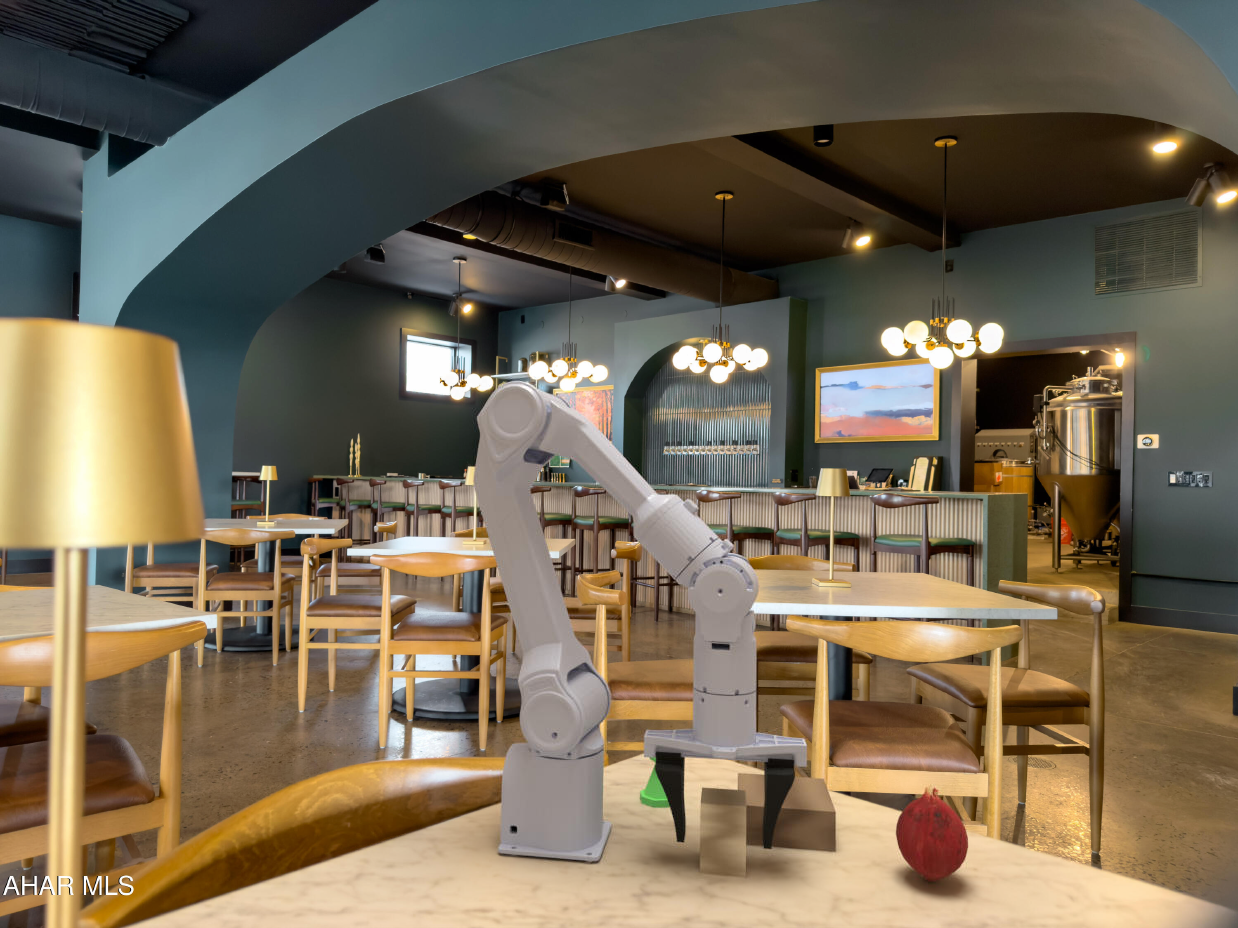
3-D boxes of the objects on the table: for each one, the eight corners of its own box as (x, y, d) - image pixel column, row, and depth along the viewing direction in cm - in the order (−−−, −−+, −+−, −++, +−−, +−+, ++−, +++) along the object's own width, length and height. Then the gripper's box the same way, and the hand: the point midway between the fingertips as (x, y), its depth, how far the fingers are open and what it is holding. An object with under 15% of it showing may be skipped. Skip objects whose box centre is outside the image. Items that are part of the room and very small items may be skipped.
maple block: (699, 873, 67) (700, 803, 67) (701, 853, 71) (702, 787, 71) (745, 877, 66) (746, 806, 67) (744, 856, 70) (745, 790, 71)
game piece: (634, 805, 82) (635, 748, 82) (645, 790, 86) (646, 737, 86) (673, 810, 81) (674, 752, 81) (682, 795, 85) (683, 741, 85)
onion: (976, 902, 63) (975, 802, 63) (902, 894, 64) (902, 796, 64) (959, 869, 68) (958, 778, 69) (891, 862, 69) (891, 773, 70)
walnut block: (738, 847, 73) (739, 804, 73) (737, 810, 82) (737, 772, 82) (835, 855, 71) (835, 811, 72) (823, 817, 80) (823, 778, 81)
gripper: (640, 694, 66) (638, 854, 66) (810, 702, 64) (810, 867, 64) (648, 677, 73) (647, 821, 73) (802, 684, 71) (802, 832, 71)
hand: (723, 840), depth 69 cm, fingers open, 7 cm apart
